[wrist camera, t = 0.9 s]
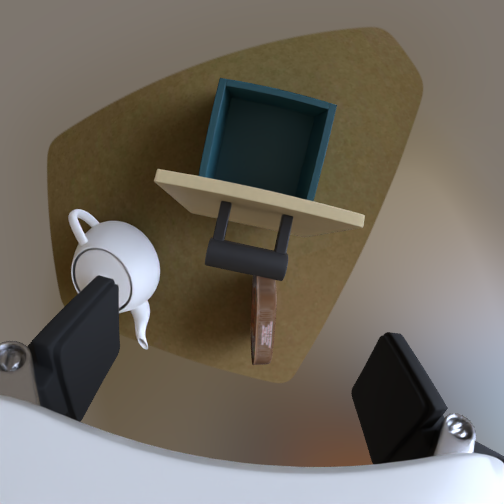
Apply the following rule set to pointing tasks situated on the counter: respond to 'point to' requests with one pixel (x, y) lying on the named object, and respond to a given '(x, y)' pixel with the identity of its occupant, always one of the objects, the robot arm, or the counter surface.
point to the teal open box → (267, 138)
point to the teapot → (117, 264)
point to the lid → (253, 220)
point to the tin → (263, 319)
